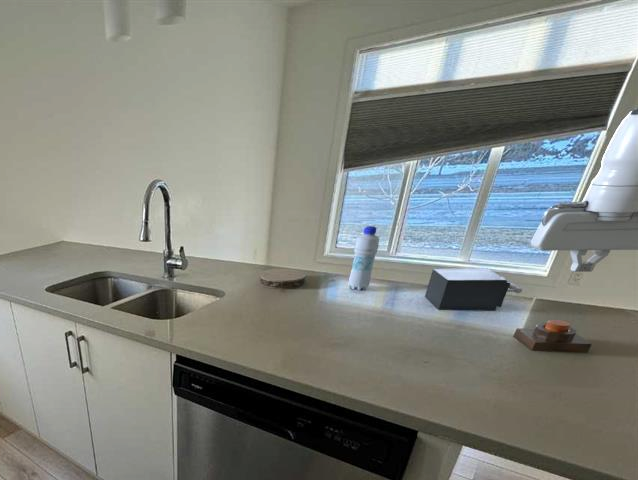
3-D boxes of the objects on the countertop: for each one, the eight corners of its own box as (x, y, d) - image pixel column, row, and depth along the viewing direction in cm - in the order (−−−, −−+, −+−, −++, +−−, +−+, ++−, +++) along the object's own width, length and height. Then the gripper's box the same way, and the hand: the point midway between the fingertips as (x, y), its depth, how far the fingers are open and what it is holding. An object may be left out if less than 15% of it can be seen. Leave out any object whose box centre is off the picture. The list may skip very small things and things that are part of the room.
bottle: (371, 291, 132) (385, 227, 122) (348, 291, 134) (361, 228, 124) (366, 285, 138) (380, 223, 128) (345, 285, 140) (356, 224, 130)
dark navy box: (476, 297, 121) (487, 268, 117) (495, 310, 111) (507, 280, 107) (424, 296, 125) (432, 268, 120) (438, 309, 115) (447, 280, 111)
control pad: (564, 338, 95) (572, 322, 93) (587, 353, 88) (596, 336, 86) (512, 336, 98) (519, 321, 96) (531, 351, 91) (538, 334, 89)
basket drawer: (501, 294, 118) (511, 271, 115) (520, 307, 110) (531, 282, 106) (434, 294, 123) (441, 272, 120) (447, 306, 115) (455, 282, 111)
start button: (560, 327, 92) (563, 319, 91) (570, 333, 89) (574, 325, 88) (540, 326, 93) (544, 319, 92) (550, 332, 90) (553, 325, 89)
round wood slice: (258, 288, 144) (258, 280, 143) (260, 276, 157) (260, 268, 156) (306, 289, 139) (307, 280, 138) (303, 276, 152) (305, 268, 151)
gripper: (558, 204, 79) (528, 274, 86) (699, 199, 73) (654, 275, 80) (540, 200, 84) (513, 267, 91) (670, 195, 78) (630, 267, 85)
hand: (580, 271), depth 85 cm, fingers closed
